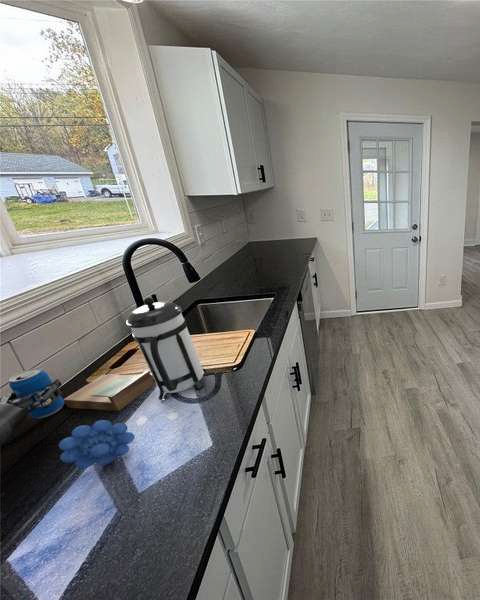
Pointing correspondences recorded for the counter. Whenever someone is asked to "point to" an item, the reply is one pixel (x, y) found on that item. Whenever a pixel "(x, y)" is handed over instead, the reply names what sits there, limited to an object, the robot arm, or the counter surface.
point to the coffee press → (166, 346)
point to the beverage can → (34, 382)
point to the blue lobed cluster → (96, 444)
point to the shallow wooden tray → (110, 392)
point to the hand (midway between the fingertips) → (41, 385)
